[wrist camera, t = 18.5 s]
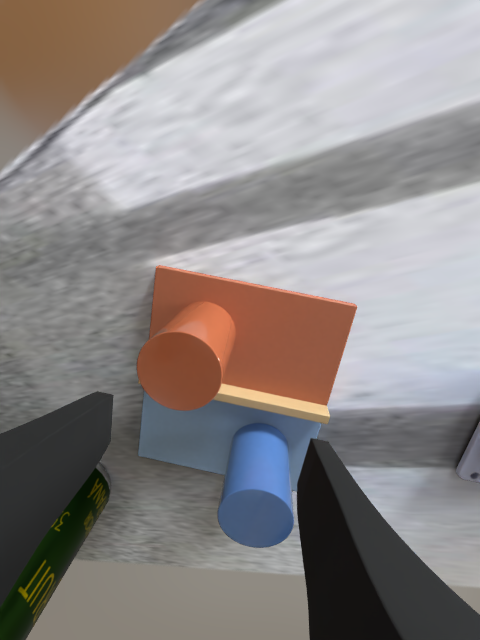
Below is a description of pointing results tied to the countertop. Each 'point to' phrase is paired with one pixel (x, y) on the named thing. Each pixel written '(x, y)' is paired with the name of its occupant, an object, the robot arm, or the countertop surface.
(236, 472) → the cylinder
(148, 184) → the countertop surface
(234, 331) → the orange cylinder
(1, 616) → the green drink can
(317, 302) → the board
